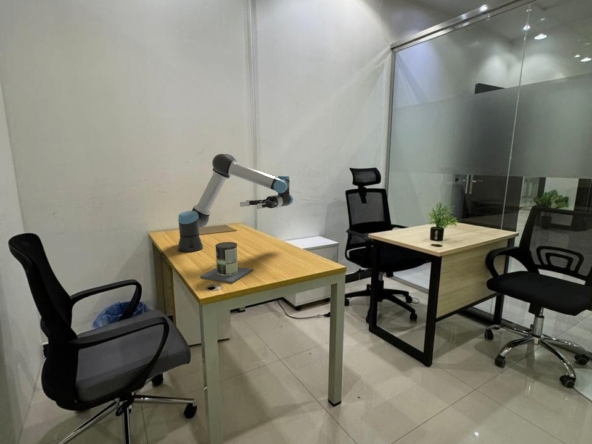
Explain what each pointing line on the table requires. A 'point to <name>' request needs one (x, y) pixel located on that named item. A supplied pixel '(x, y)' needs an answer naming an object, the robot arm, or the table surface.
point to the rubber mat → (230, 279)
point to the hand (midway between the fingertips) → (248, 205)
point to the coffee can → (226, 258)
